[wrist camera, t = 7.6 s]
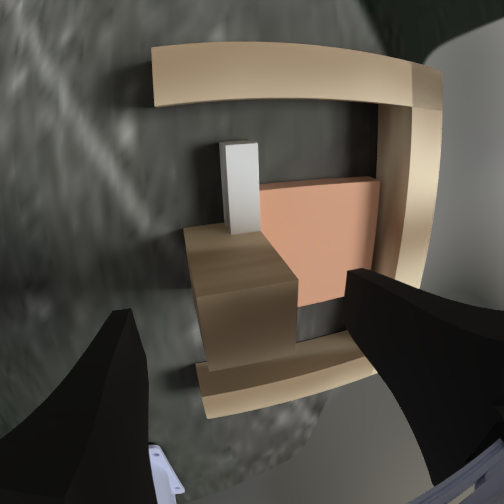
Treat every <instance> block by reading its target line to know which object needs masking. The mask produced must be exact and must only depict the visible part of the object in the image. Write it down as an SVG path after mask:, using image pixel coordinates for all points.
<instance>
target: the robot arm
mask: <svg viewBox="0 0 504 504" xmlns="http://www.w3.org/2000/svg"><path fill="white" fill-rule="evenodd" d="M341 319H342V321H343V323H344V325H345V327H346V328H347V330H348V332H349V334H350V336H351V337H352V339H353V341H354V342H355V343H356V345H357V346H358V347H359V349H360V350H361V351H362V353H363V354H364V355H365V357H366V358H367V359H368V361H369V362H370V363H371V365H372V366H373V367H374V368H375V370H376V371H377V372H378V374H379V375H380V376H381V378H382V379H383V380H384V382H385V383H386V384H387V386H388V387H389V389H390V390H391V392H392V393H393V395H394V397H395V399H396V400H397V402H398V404H399V406H400V407H401V409H402V411H403V413H404V415H405V417H406V419H407V421H408V423H409V425H410V427H411V429H412V431H413V433H414V435H415V437H416V440H417V442H418V445H419V447H420V449H421V452H422V454H423V457H424V459H425V462H426V465H427V468H428V471H429V474H430V478H431V481H432V484H433V485H434V487H433V488H432V489H430V490H429V491H427V492H425V493H424V494H422V495H420V496H419V497H417V498H415V499H414V500H412V501H410V502H408V503H406V504H448V503H449V502H451V501H452V500H453V499H455V498H456V497H458V496H459V495H460V494H462V493H463V492H464V491H466V490H467V489H468V488H470V487H471V486H472V485H473V484H475V483H476V484H475V491H474V492H473V493H471V494H470V495H469V496H468V497H466V498H465V499H464V500H463V501H462V502H461V503H459V504H504V311H500V310H493V309H487V308H481V307H476V306H472V305H468V304H464V303H460V302H457V301H453V300H449V299H446V298H443V297H440V296H437V295H434V294H431V293H429V292H426V291H423V290H420V289H418V288H415V287H413V286H410V285H408V284H405V283H403V282H400V281H398V280H395V279H393V278H390V277H388V276H385V275H382V274H380V273H377V272H374V271H371V270H368V269H364V268H358V269H353V270H348V271H347V276H346V285H345V293H344V301H343V309H342V317H341ZM148 401H149V381H148V370H147V360H146V355H145V352H144V349H143V346H142V343H141V339H140V336H139V333H138V330H137V327H136V323H135V320H134V317H133V313H132V310H131V308H130V309H123V310H116V311H112V313H111V314H110V316H109V317H108V318H107V320H106V321H105V323H104V324H103V326H102V327H101V329H100V330H99V332H98V333H97V335H96V336H95V338H94V339H93V341H92V342H91V344H90V345H89V346H88V348H87V349H86V351H85V352H84V354H83V355H82V356H81V358H80V359H79V360H78V362H77V363H76V364H75V366H74V367H73V368H72V370H71V371H70V372H69V374H68V375H67V376H66V377H65V379H64V380H63V381H62V382H61V383H60V385H59V386H58V387H57V388H56V389H55V390H54V391H53V392H52V393H51V395H50V396H49V397H48V398H47V399H46V400H45V401H44V402H43V403H42V404H41V405H40V406H39V407H38V408H36V409H35V410H34V411H33V412H32V413H31V414H30V415H29V416H28V417H27V418H26V419H25V420H24V421H23V422H22V423H20V424H19V425H18V426H17V427H16V428H14V429H13V430H12V431H11V432H9V433H8V434H7V435H5V436H4V437H3V438H1V439H0V504H176V498H175V494H180V493H184V492H185V490H184V487H183V485H182V484H181V482H180V481H179V479H178V477H177V476H176V474H175V472H174V471H173V469H172V467H171V465H170V464H169V462H168V460H167V458H166V457H165V455H164V453H163V451H162V449H161V448H160V446H158V445H149V443H148Z"/></svg>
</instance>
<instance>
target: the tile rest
mask: <svg viewBox="0 0 504 504" xmlns="http://www.w3.org/2000/svg"><path fill="white" fill-rule="evenodd" d="M152 72H153V90H154V104H155V107H156V108H160V107H168V106H177V105H186V104H196V103H207V102H221V101H238V100H268V99H302V100H331V101H348V102H362V103H373V104H378V144H377V168H376V179H377V180H379V181H380V193H379V205H378V216H377V225H376V234H375V243H374V251H373V258H372V265H371V271H374V272H377V273H380V274H382V275H385V276H388V277H390V278H393V279H395V280H398V281H400V282H403V283H405V284H408V285H410V286H413V287H415V288H418V289H419V287H420V283H421V279H422V274H423V270H424V265H425V261H426V255H427V251H428V245H429V240H430V235H431V229H432V223H433V216H434V209H435V202H436V193H437V186H438V176H439V166H440V154H441V138H442V107H443V106H442V104H443V103H442V102H443V101H442V100H443V99H442V98H443V97H442V96H443V89H442V70H439V69H436V68H432V67H429V66H425V65H421V64H418V63H414V62H410V61H405V60H401V59H397V58H392V57H388V56H383V55H378V54H372V53H367V52H361V51H355V50H348V49H341V48H334V47H326V46H317V45H306V44H294V43H276V42H211V43H193V44H181V45H170V46H161V47H153V48H152ZM195 365H196V370H197V376H198V381H199V386H200V391H201V396H202V400H203V404H204V408H205V412H206V416H207V419H210V418H216V417H221V416H227V415H232V414H237V413H241V412H246V411H251V410H255V409H259V408H264V407H268V406H272V405H276V404H280V403H284V402H288V401H291V400H295V399H299V398H302V397H306V396H309V395H313V394H316V393H319V392H323V391H326V390H329V389H332V388H335V387H339V386H341V385H345V384H347V383H351V382H353V381H356V380H359V379H362V378H365V377H368V376H370V375H373V374H375V373H378V372H377V371H376V370H375V368H374V367H373V366H372V365H371V363H370V362H369V361H368V359H367V358H366V357H365V355H364V354H363V353H362V351H361V350H360V349H359V347H358V346H357V345H356V343H355V342H354V341H353V339H352V337H351V336H350V334H349V332H348V330H345V331H342V332H338V333H334V334H331V335H327V336H323V337H319V338H315V339H311V340H307V341H303V342H299V343H296V347H295V354H292V355H288V356H283V357H279V358H275V359H270V360H266V361H261V362H257V363H252V364H247V365H242V366H237V367H232V368H227V369H222V370H216V371H211V372H209V369H208V365H207V362H202V363H196V364H195Z"/></svg>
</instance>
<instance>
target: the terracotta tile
mask: <svg viewBox="0 0 504 504" xmlns="http://www.w3.org/2000/svg"><path fill="white" fill-rule="evenodd" d="M379 193H380V181H379V180H377V179H374V178H372V177H369V176H363V177H345V178H328V179H314V180H301V181H289V182H278V183H267V184H259V194H260V224H261V232H262V233H263V234H264V236H265V237H266V238H267V240H268V241H269V242H270V243H271V245H272V246H273V247H274V248H275V250H276V251H277V252H278V254H279V255H280V256H281V257H282V259H283V260H284V261H285V263H286V264H287V265H288V266H289V268H290V269H291V270H292V272H293V273H294V274H295V275H296V277H297V278H298V279H299V285H298V307H300V306H304V305H309V304H314V303H318V302H322V301H327V300H331V299H335V298H340V297H344V293H345V285H346V276H347V271H348V270H353V269H358V268H364V269H368V270H371V265H372V258H373V251H374V243H375V234H376V225H377V216H378V205H379Z"/></svg>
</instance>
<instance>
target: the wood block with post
mask: <svg viewBox="0 0 504 504" xmlns="http://www.w3.org/2000/svg"><path fill="white" fill-rule="evenodd" d="M219 152H220V168H221V182H222V197H223V210H224V223H217V224H209V225H202V226H195V227H188V228H183V231H184V238H185V246H186V253H187V260H188V267H189V274H190V280H191V287H192V292H193V298H194V303H195V308H196V313H197V318H198V323H199V328H200V333H201V337H202V342H203V347H204V351H205V356H206V360H207V365H208V369H209V372H211V371H216V370H222V369H227V368H232V367H237V366H242V365H247V364H252V363H257V362H261V361H266V360H270V359H275V358H279V357H283V356H288V355H292V354H295V347H296V329H297V309H298V285H299V279H298V278H297V277H296V275H295V274H294V273H293V272H292V270H291V269H290V268H289V266H288V265H287V264H286V263H285V261H284V260H283V259H282V257H281V256H280V255H279V254H278V252H277V251H276V250H275V248H274V247H273V246H272V245H271V243H270V242H269V241H268V240H267V238H266V237H265V236H264V234H263V233H262V232H261V224H260V194H259V166H258V143H256V142H253V141H250V140H236V141H223V142H219Z"/></svg>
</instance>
